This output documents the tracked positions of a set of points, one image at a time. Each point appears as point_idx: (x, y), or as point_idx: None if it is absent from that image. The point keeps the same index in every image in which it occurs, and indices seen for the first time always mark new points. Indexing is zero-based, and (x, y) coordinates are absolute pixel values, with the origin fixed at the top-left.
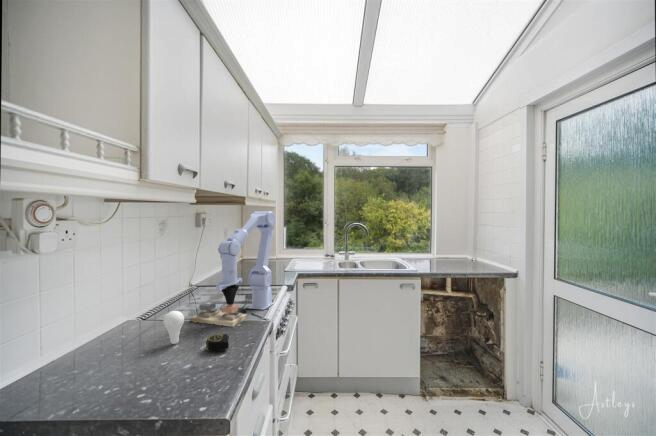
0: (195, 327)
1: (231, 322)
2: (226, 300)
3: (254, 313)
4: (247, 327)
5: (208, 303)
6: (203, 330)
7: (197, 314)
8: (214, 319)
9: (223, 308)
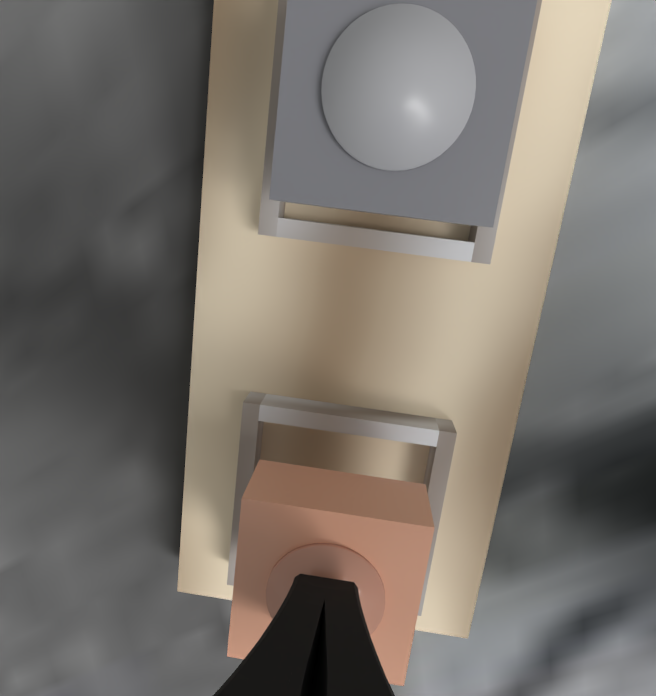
0: (84, 168)
1: (183, 575)
2: (273, 626)
3: (611, 631)
4: (207, 692)
5: (395, 116)
6: (37, 317)
7: (279, 1)
8: (231, 337)
9: (243, 510)
